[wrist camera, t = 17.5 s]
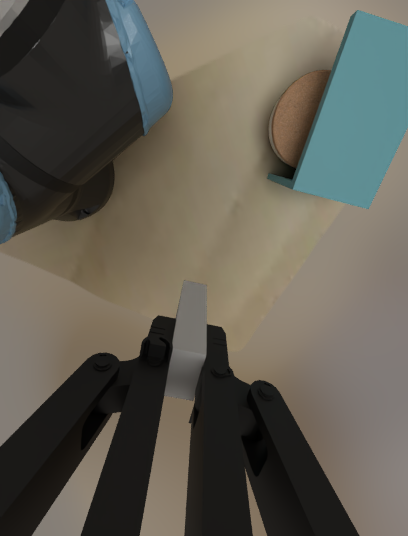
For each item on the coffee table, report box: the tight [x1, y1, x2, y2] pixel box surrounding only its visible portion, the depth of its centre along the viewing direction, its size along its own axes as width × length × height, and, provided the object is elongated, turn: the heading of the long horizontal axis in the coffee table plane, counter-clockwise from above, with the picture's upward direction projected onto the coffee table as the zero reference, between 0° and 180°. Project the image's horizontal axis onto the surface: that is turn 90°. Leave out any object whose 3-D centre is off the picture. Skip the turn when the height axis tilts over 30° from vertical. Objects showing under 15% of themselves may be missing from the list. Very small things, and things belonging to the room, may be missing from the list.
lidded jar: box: [269, 70, 331, 168], centre depth 35 cm, size 11×11×9 cm
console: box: [267, 10, 408, 209], centre depth 33 cm, size 9×16×14 cm, turn 166°
